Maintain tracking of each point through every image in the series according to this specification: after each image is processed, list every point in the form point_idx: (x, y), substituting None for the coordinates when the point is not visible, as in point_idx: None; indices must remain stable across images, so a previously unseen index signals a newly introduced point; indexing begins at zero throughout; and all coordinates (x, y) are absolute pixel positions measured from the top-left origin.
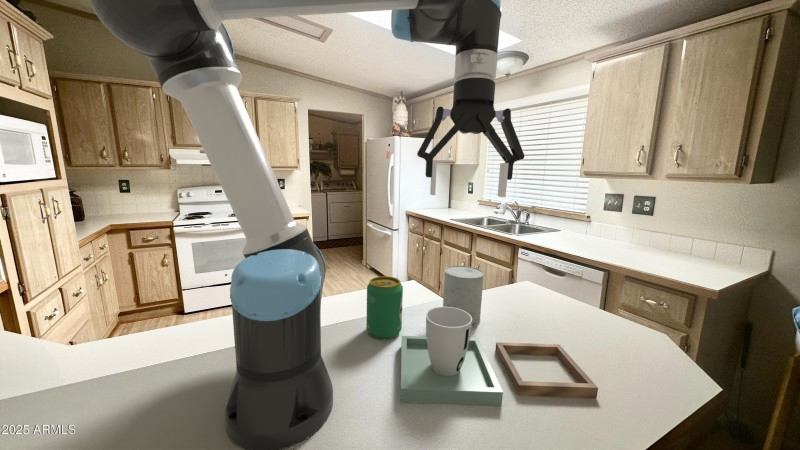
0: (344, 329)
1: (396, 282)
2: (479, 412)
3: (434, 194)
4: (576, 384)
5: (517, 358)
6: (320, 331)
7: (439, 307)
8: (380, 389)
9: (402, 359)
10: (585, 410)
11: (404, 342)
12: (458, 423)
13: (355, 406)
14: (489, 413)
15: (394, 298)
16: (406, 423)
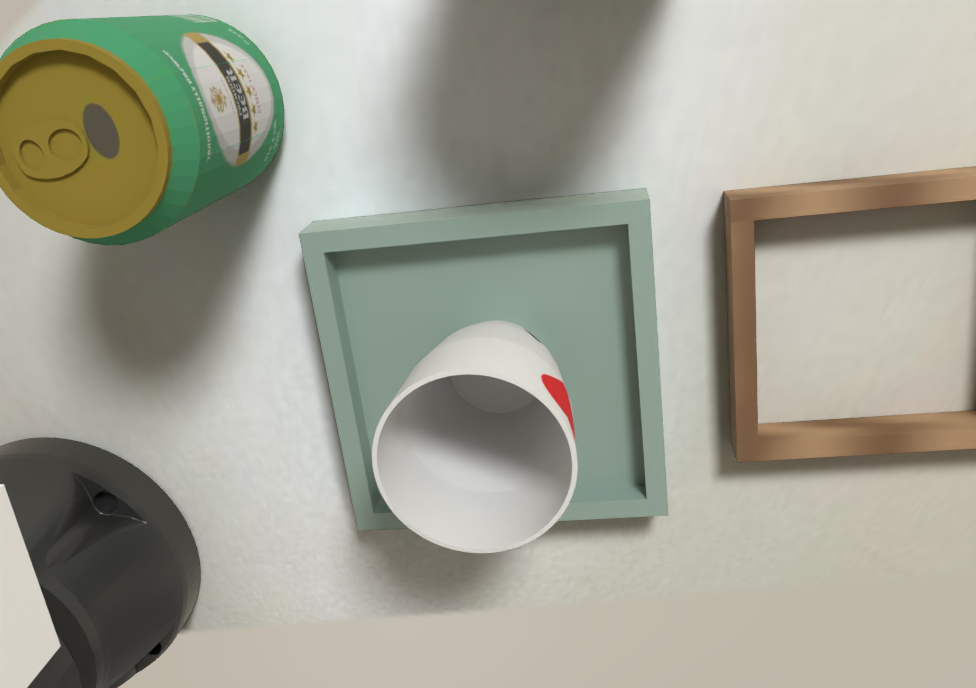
0: None
1: (140, 102)
2: None
3: (45, 650)
4: (949, 439)
5: (808, 230)
6: (41, 682)
7: (429, 380)
8: (299, 462)
9: (335, 397)
10: (927, 478)
11: (321, 285)
12: (530, 555)
13: (252, 528)
14: None
15: (186, 213)
16: (396, 566)
